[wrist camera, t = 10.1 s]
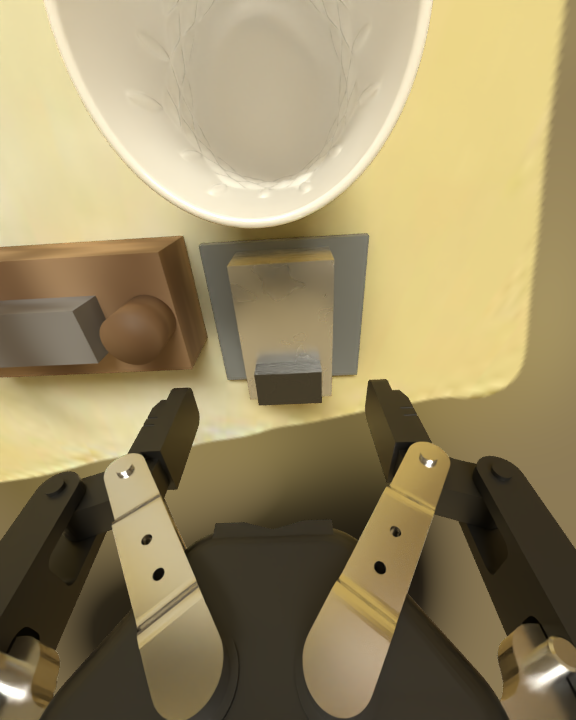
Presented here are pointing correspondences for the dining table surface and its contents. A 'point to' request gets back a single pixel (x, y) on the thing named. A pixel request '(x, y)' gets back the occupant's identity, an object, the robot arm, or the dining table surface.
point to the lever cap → (285, 322)
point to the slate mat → (346, 295)
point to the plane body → (98, 308)
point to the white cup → (243, 94)
